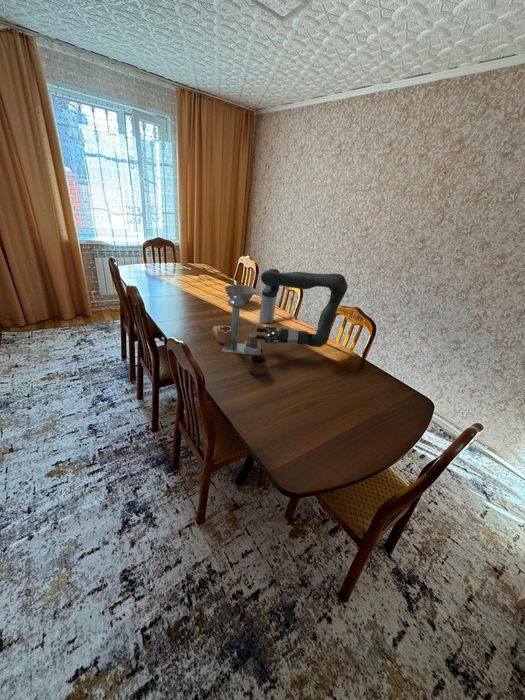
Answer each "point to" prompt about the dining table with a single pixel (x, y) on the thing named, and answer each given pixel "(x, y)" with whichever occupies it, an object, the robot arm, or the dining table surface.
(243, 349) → the metal post stand
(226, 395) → the dining table surface
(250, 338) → the wooden block
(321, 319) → the robot arm
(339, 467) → the dining table surface
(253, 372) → the ceramic pot
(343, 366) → the dining table surface
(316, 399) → the dining table surface
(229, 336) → the bracket
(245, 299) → the ceramic bowl
